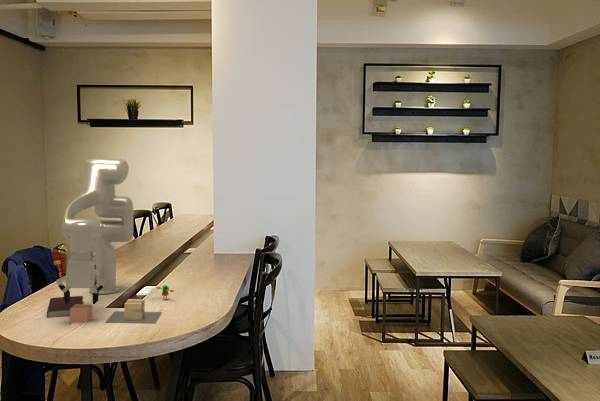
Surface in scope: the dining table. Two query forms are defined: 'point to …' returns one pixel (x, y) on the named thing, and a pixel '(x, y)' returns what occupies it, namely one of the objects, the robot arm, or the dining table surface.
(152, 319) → the plate
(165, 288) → the toy character
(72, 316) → the terracotta block
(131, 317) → the maple block
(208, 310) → the dining table surface
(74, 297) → the book
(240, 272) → the dining table surface
